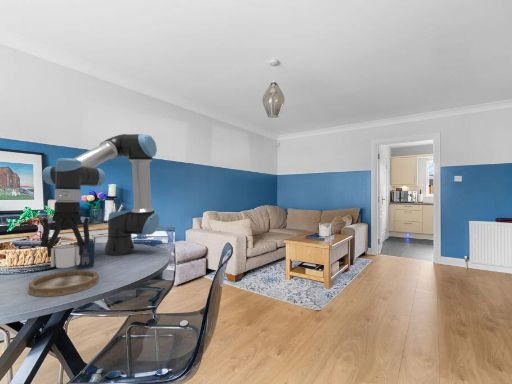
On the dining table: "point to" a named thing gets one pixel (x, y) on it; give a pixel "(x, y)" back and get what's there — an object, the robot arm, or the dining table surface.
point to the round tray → (63, 283)
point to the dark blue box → (87, 255)
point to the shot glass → (65, 256)
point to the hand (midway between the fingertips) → (65, 264)
